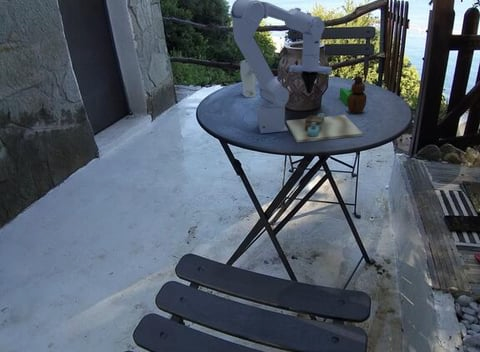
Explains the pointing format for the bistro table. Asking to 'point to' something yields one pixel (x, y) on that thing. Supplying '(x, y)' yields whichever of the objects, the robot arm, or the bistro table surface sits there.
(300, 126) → the birch plate
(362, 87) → the wooden figurine
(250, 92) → the beer glass
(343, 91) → the green block
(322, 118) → the walnut keeper
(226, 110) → the bistro table surface
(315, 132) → the teal link
